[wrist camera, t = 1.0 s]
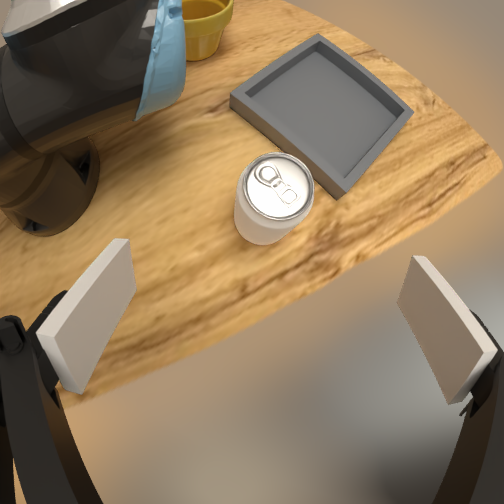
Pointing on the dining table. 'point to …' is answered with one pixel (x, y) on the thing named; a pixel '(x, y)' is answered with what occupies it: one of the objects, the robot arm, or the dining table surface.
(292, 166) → the can
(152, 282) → the dining table surface
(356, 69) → the tray
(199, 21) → the plant pot
